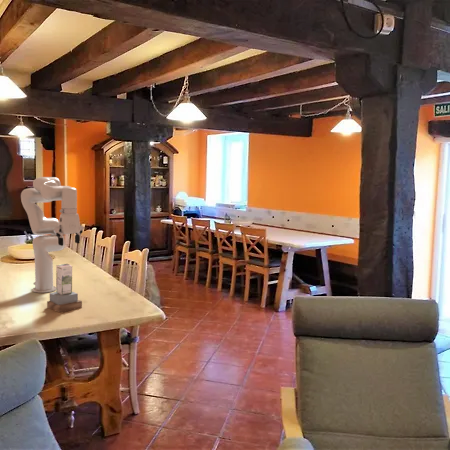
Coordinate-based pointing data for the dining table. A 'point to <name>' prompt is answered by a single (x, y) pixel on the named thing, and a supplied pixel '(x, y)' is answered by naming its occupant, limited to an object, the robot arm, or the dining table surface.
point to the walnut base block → (64, 306)
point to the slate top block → (63, 298)
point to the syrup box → (64, 279)
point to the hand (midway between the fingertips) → (69, 244)
